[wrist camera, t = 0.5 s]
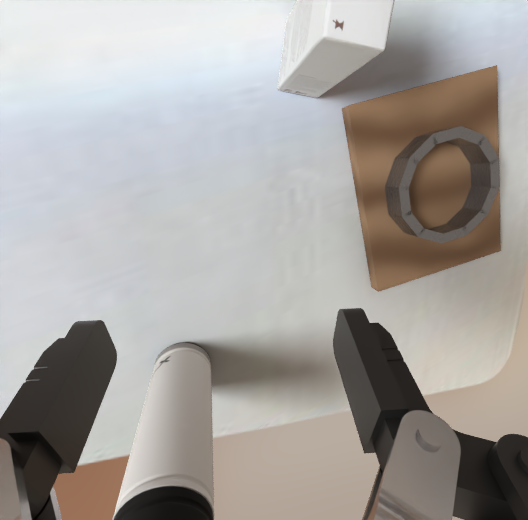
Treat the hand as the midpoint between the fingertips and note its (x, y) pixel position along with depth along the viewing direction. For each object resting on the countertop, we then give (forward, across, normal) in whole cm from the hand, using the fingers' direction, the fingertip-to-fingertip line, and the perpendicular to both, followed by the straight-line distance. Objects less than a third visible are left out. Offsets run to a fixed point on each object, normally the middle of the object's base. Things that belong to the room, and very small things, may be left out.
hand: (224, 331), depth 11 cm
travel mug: (+15, +7, +22) cm, 28 cm away
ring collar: (+23, -21, +4) cm, 31 cm away
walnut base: (+24, -21, +5) cm, 32 cm away
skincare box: (+27, -7, -7) cm, 28 cm away
